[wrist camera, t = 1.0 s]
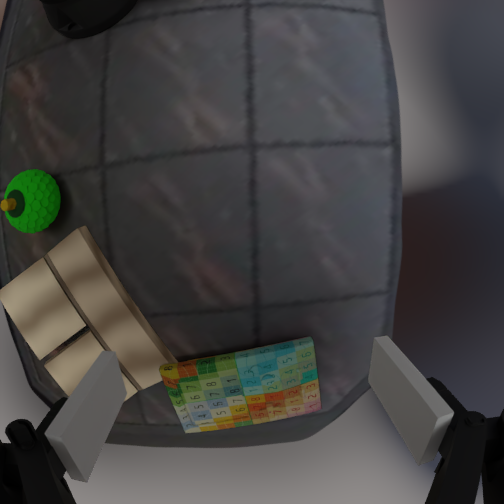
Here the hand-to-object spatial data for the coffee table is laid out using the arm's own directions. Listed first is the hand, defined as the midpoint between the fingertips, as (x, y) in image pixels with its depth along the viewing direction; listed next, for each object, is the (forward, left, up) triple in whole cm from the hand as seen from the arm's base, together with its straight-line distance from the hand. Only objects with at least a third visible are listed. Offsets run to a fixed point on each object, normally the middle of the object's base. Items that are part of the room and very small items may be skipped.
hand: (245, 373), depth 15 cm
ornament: (-21, -19, -25) cm, 38 cm away
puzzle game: (+15, -9, -25) cm, 31 cm away
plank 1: (-9, -28, -22) cm, 37 cm away
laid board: (-3, -19, -25) cm, 32 cm away
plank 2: (+3, -28, -22) cm, 36 cm away
